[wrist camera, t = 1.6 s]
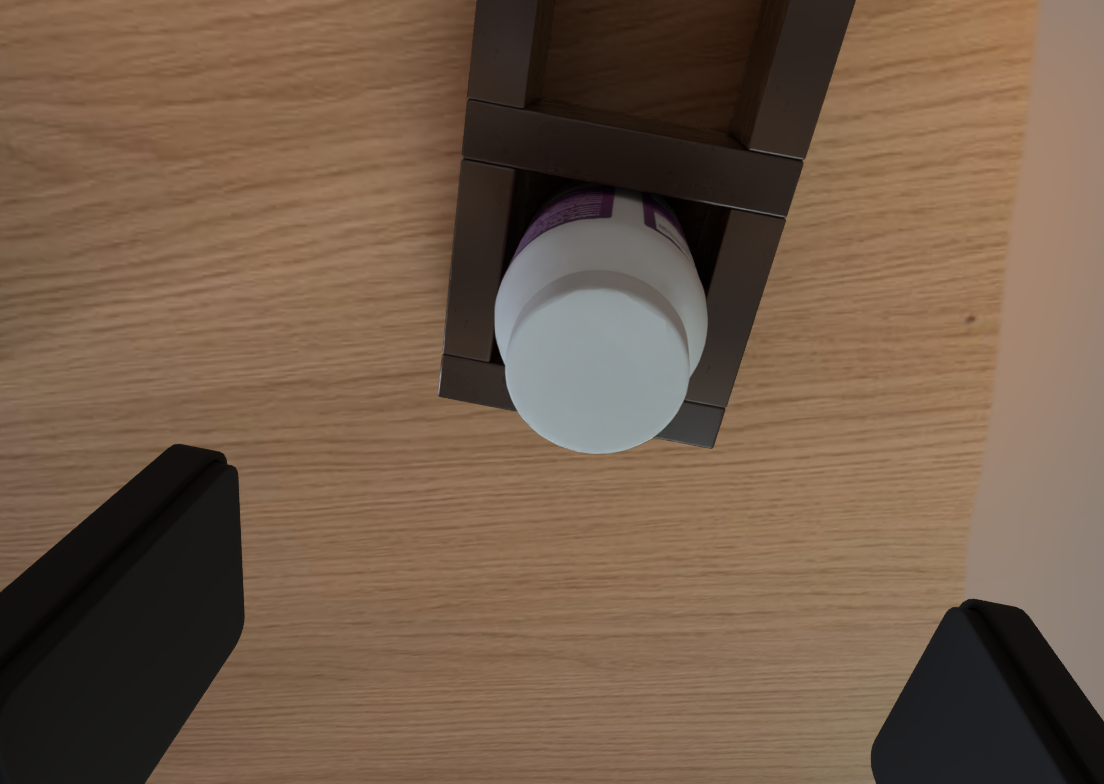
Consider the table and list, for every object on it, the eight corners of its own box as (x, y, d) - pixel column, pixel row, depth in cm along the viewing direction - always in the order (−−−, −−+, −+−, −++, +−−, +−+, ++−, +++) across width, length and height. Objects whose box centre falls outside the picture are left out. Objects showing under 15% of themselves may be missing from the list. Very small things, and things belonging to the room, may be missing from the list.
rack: (527, -213, 18) (503, -275, 15) (862, -154, 18) (920, -201, 14) (463, 347, 26) (437, 397, 22) (701, 392, 25) (713, 450, 22)
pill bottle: (518, 315, 25) (460, 461, 16) (535, 159, 22) (478, 235, 14) (669, 338, 25) (692, 499, 16) (703, 184, 22) (751, 277, 14)
